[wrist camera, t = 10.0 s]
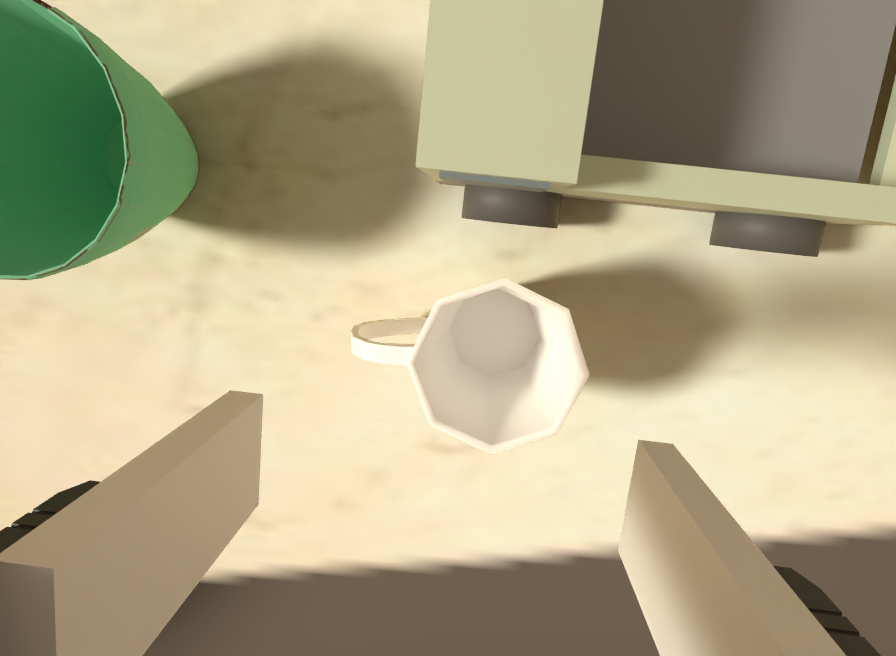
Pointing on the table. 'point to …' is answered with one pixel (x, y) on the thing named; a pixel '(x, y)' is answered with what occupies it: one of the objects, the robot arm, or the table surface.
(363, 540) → the table surface
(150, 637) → the robot arm
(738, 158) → the pickup truck
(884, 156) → the panel
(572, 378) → the cup
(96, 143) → the mug
